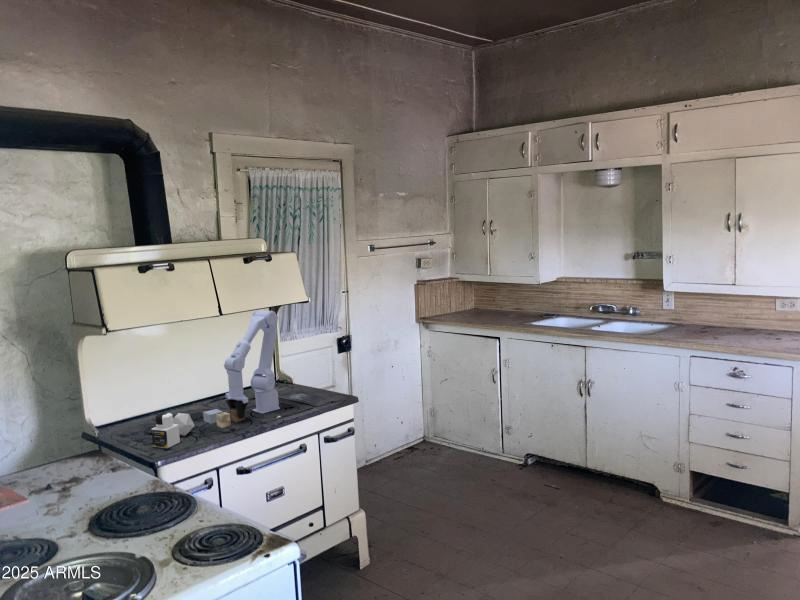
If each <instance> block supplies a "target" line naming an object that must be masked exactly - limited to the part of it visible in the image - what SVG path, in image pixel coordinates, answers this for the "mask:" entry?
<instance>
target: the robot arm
mask: <svg viewBox="0 0 800 600" xmlns="http://www.w3.org/2000/svg"><path fill="white" fill-rule="evenodd" d="M278 321H279V316H278V315H277V313H276V311H273V310H261V309H256V310H254V311H253V313H252V315H251V316H250V324H249V326H248V327H247V330H246V332H245V334H244V337H243V338H242V340H240V341H238V342H236V344H235V347H234V349H233V351H232V353H231V354H230V356H228V357H227V358H226V359H225V361H224V364H223V367H224V369H225V370H226V374H227V381H228V392H225V398H226V400H225V402H226V403H225V404H227V406H228V408H229V410H230V411H231V409H233V408H237V412H238V417H239V419H241V418H244V415H245V413H246V409H247V406H248V404H249V397H247V396H246V395H245V394H244V384H243V369H244V368H245V363H246V358H247V356H248V354H249V352H250V350H251V349H252V348H251V344H252V341H253V340H254V338H255V337H256V335H257V334H258V332H259V331H260V330H262V332H263V337H262V343H261V349H260V354H259V355H260V356H259V362H258V367H257V369H255V370H254V371H253V373H252V377H251V379H250V386H251V388H252V389H253V391H254V395H255V398H254V399H255V407H256V408H252V411H253V412H254V413H255V412H256V413H259V414H266V413H269V412H274V411H277V410H280V408H281V407H280V405H279V404H280V403H279V394H278V391H277V389H276V388H275V386H276V379H275V378H276V377H275V375H276V374H275V372H273V370H272V365H273V358H274V351H275V346H276V340H277V333H278ZM245 416H246V415H245Z"/></svg>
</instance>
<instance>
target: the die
mask: <svg viewBox="0 0 800 600" xmlns="http://www.w3.org/2000/svg"><path fill="white" fill-rule="evenodd" d="M173 424H178V425H179V436H182V437H183V436H184V437H185V436H187V435H188V434H189V433H190V432H191V430H192V429H193V428H194V427H195V423H194V422H193V419H192V418H191V415H190V413H181V412H178V413H177V414H176V415H175V416H174V417H173Z"/></svg>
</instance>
